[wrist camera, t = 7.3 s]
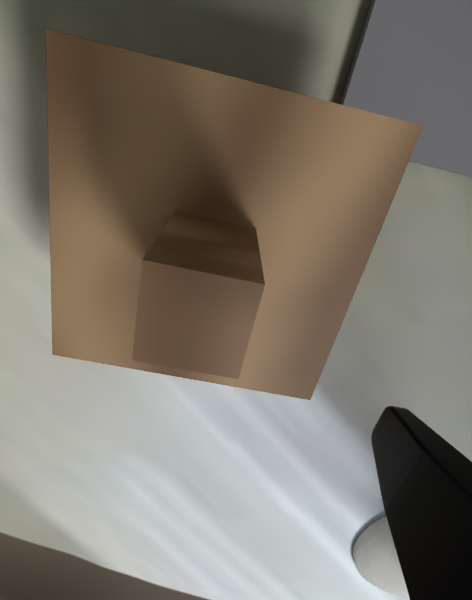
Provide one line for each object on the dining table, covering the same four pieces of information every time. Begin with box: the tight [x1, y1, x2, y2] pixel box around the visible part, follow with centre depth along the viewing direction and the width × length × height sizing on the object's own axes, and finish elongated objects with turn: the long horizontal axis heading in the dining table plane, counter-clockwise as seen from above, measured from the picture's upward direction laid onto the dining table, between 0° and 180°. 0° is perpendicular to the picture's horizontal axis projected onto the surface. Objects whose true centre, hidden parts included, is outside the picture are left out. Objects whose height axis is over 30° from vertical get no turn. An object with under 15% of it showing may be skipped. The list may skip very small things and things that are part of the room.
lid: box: [46, 29, 423, 400], centre depth 12 cm, size 12×12×6 cm
